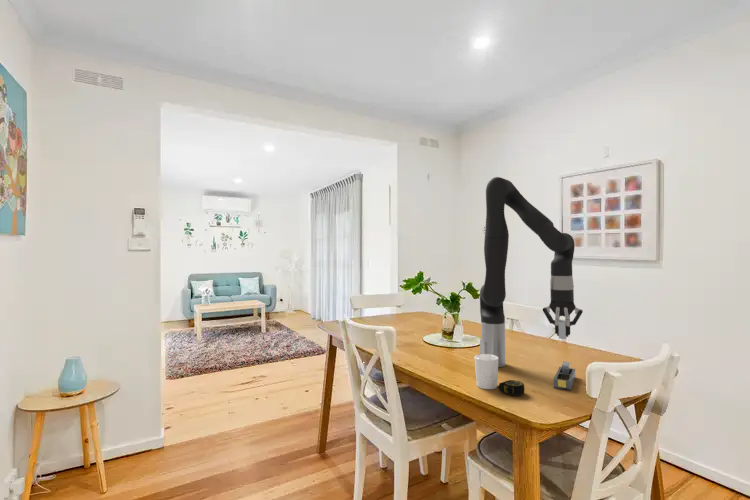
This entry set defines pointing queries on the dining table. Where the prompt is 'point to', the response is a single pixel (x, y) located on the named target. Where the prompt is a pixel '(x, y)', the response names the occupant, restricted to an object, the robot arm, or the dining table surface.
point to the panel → (562, 329)
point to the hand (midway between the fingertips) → (562, 335)
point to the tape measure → (512, 387)
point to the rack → (564, 377)
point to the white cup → (486, 371)
